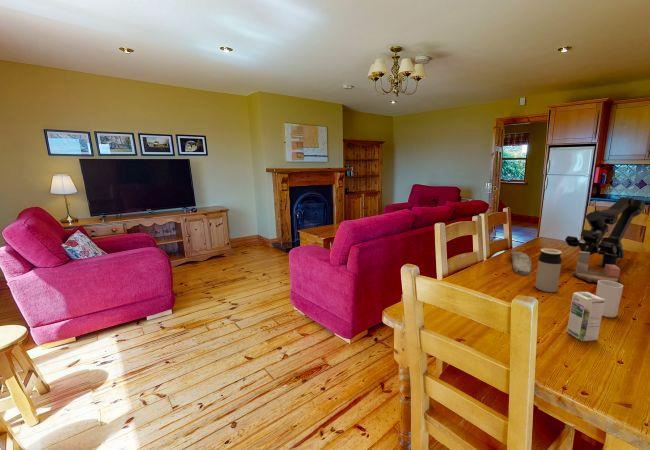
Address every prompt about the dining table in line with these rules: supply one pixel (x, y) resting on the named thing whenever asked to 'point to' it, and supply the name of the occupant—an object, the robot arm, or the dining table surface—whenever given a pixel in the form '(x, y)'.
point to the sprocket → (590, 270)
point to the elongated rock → (521, 263)
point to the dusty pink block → (612, 270)
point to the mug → (609, 296)
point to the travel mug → (548, 270)
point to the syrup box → (585, 316)
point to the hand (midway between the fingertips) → (581, 258)
